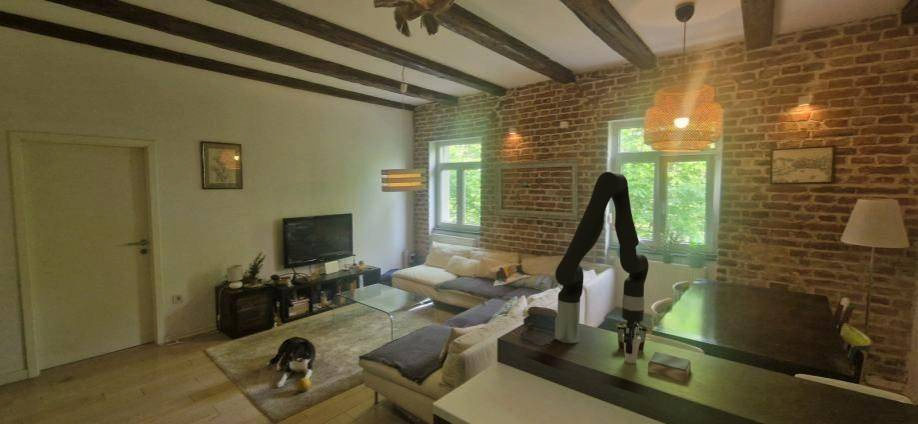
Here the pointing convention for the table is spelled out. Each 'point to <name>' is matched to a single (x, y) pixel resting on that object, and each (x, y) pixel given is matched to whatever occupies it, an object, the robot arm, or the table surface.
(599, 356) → the table surface
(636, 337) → the smoothie
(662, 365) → the oak plinth
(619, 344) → the food container
